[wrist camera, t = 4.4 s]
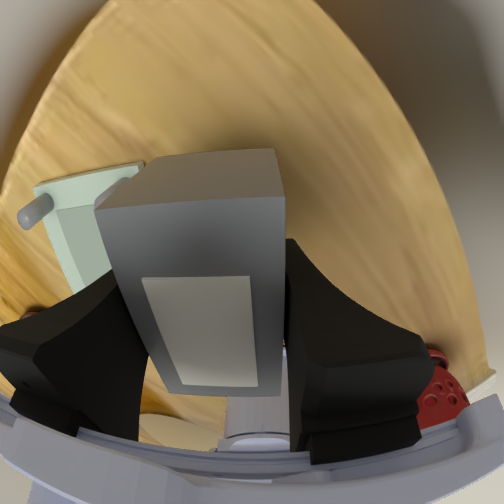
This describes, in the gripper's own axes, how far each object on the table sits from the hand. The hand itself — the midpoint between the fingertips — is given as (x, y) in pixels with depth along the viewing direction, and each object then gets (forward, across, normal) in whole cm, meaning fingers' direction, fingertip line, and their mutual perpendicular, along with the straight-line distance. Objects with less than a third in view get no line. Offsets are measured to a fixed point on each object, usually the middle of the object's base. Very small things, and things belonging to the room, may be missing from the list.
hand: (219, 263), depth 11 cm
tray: (+8, +11, +5) cm, 15 cm away
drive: (+2, 0, 0) cm, 2 cm away
